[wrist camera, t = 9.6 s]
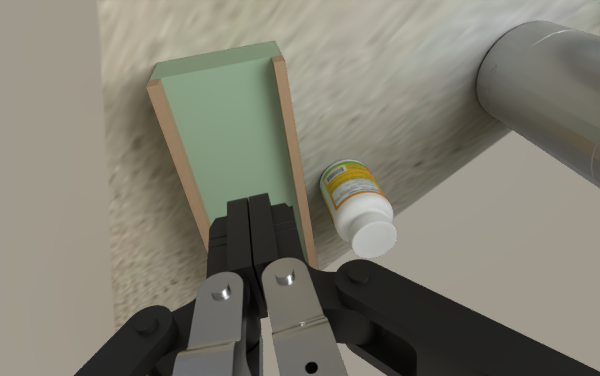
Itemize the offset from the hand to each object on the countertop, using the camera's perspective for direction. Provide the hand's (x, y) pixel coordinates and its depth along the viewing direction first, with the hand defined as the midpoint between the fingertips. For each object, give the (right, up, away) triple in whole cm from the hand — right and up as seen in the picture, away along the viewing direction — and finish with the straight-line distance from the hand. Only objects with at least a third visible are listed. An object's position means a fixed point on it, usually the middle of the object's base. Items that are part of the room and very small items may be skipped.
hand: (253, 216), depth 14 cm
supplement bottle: (+6, +2, +27) cm, 28 cm away
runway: (-4, +3, +24) cm, 24 cm away
